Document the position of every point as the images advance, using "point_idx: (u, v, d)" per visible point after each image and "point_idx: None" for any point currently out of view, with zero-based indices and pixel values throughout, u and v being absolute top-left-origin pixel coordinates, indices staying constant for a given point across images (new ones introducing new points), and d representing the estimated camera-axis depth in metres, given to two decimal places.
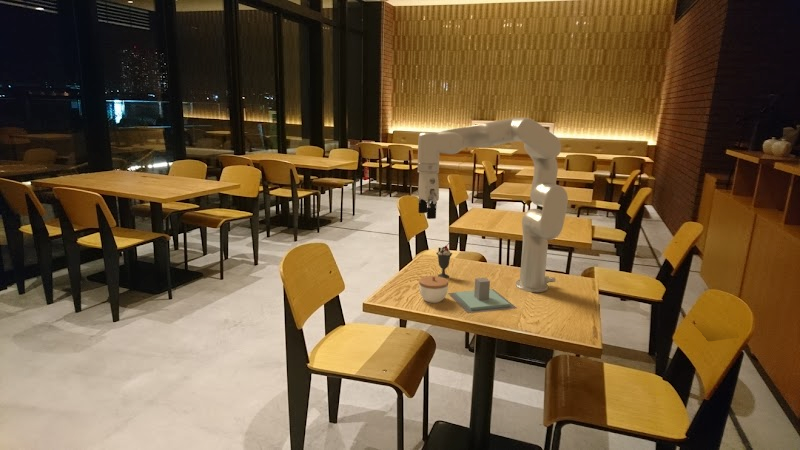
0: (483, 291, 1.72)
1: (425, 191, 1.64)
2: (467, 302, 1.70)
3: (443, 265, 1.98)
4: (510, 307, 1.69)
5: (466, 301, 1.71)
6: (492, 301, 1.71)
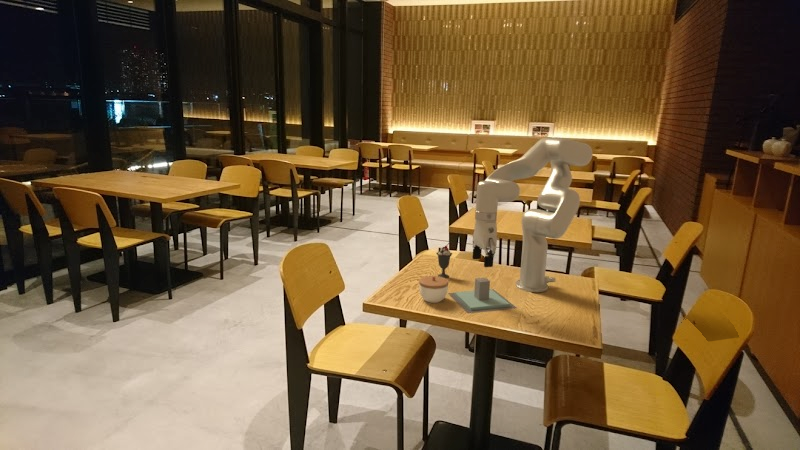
0: (483, 291, 1.72)
1: (483, 240, 1.64)
2: (467, 302, 1.70)
3: (443, 265, 1.98)
4: (510, 307, 1.69)
5: (466, 301, 1.71)
6: (492, 301, 1.71)
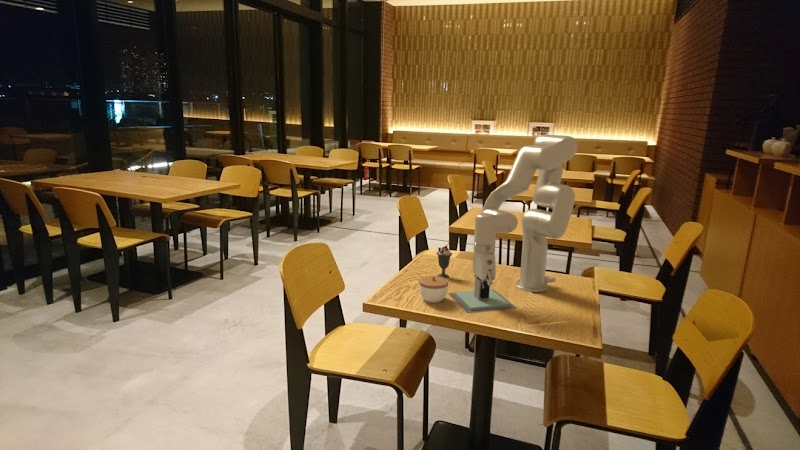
0: None
1: (482, 271, 1.67)
2: (467, 302, 1.70)
3: (443, 265, 1.98)
4: (510, 307, 1.69)
5: (466, 301, 1.71)
6: (492, 301, 1.71)
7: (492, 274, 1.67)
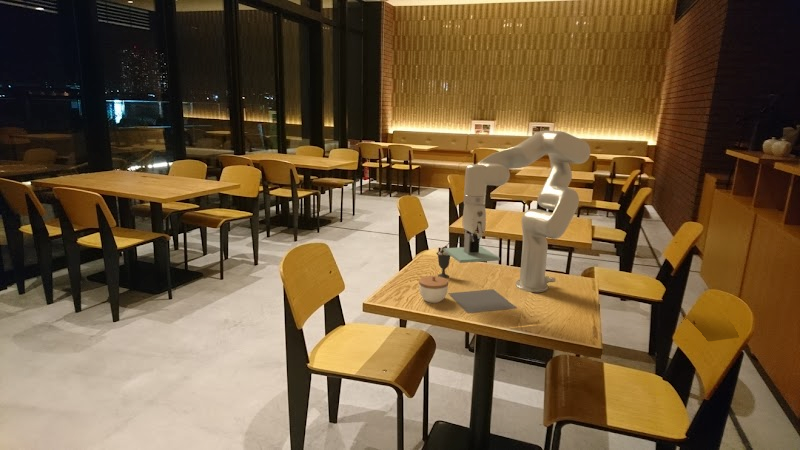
0: None
1: (472, 223, 1.63)
2: (456, 256, 1.66)
3: (443, 265, 1.98)
4: (510, 307, 1.69)
5: (455, 255, 1.67)
6: (482, 255, 1.67)
7: (482, 226, 1.63)
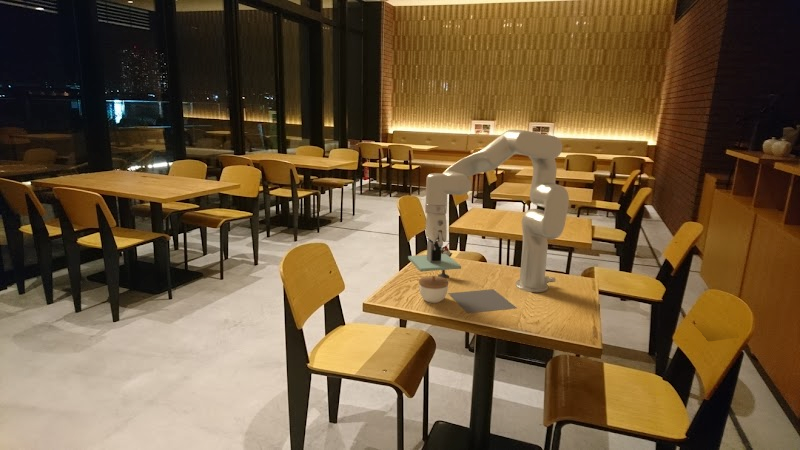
0: None
1: (433, 232, 1.64)
2: (418, 264, 1.67)
3: None
4: (510, 307, 1.69)
5: (417, 263, 1.68)
6: (444, 263, 1.68)
7: (443, 235, 1.64)
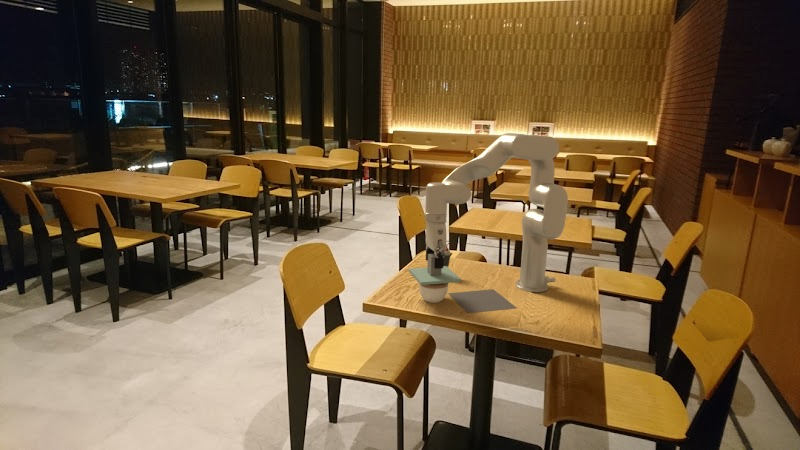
0: None
1: (433, 241, 1.65)
2: (418, 277, 1.68)
3: (443, 265, 1.98)
4: (510, 307, 1.69)
5: (418, 276, 1.69)
6: (444, 276, 1.69)
7: (443, 244, 1.65)
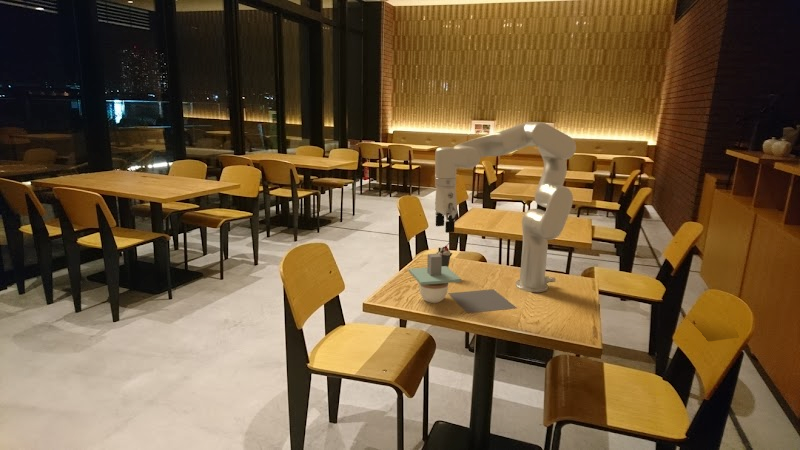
0: (435, 266, 1.70)
1: (443, 205, 1.66)
2: (418, 277, 1.68)
3: (443, 265, 1.98)
4: (510, 307, 1.69)
5: (418, 276, 1.69)
6: (444, 276, 1.69)
7: (453, 208, 1.66)
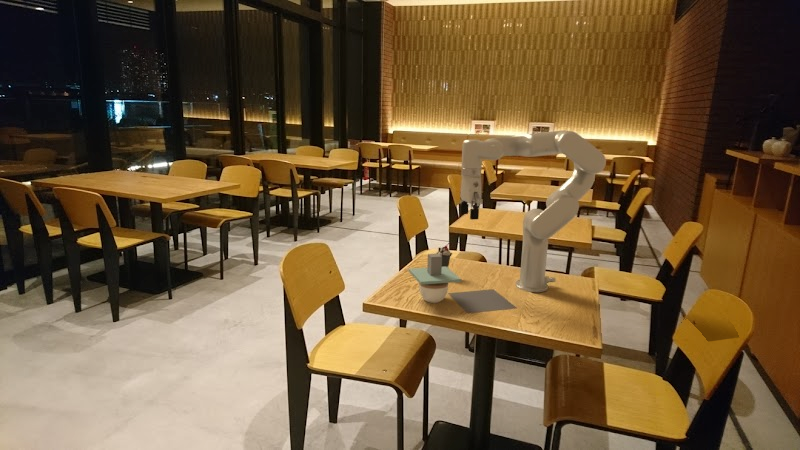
0: (435, 266, 1.70)
1: (469, 194, 1.78)
2: (418, 277, 1.68)
3: (443, 265, 1.98)
4: (510, 307, 1.69)
5: (418, 276, 1.69)
6: (444, 276, 1.69)
7: (478, 196, 1.78)
